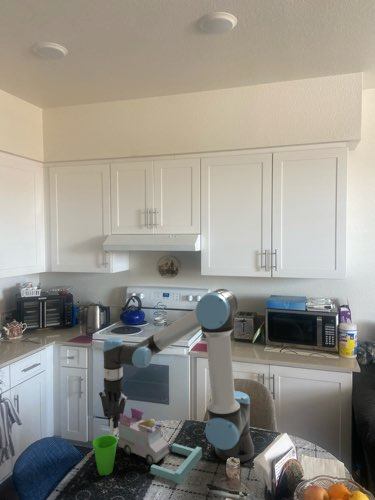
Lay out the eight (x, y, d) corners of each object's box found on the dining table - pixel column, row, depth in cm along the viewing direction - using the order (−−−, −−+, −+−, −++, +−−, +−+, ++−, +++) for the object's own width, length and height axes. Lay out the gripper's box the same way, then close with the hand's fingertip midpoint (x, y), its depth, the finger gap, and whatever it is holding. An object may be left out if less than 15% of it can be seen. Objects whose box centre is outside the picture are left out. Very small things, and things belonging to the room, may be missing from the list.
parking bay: (201, 456, 144) (201, 447, 144) (179, 484, 128) (179, 474, 128) (174, 448, 149) (174, 440, 149) (149, 474, 133) (149, 464, 133)
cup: (90, 467, 138) (90, 437, 137) (115, 461, 141) (115, 432, 141) (94, 481, 129) (94, 450, 129) (120, 475, 133) (120, 445, 132)
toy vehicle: (155, 469, 136) (155, 428, 136) (116, 451, 147) (116, 414, 147) (170, 456, 144) (170, 418, 143) (132, 441, 155) (132, 405, 154)
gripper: (94, 377, 150) (94, 435, 151) (120, 383, 145) (120, 443, 145) (106, 371, 157) (106, 426, 158) (132, 376, 151) (132, 434, 152)
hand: (113, 434), depth 152 cm, fingers closed
